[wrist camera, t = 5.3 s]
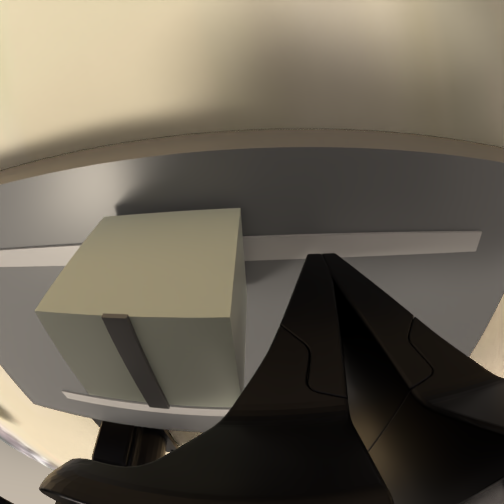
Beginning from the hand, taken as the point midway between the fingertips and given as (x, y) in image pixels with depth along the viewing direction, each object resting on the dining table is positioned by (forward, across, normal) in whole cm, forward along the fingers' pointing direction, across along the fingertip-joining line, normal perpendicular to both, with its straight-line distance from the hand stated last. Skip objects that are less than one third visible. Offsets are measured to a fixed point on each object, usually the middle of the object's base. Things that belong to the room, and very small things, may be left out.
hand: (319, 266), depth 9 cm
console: (+3, +5, +5) cm, 8 cm away
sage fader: (+1, +4, 0) cm, 4 cm away
